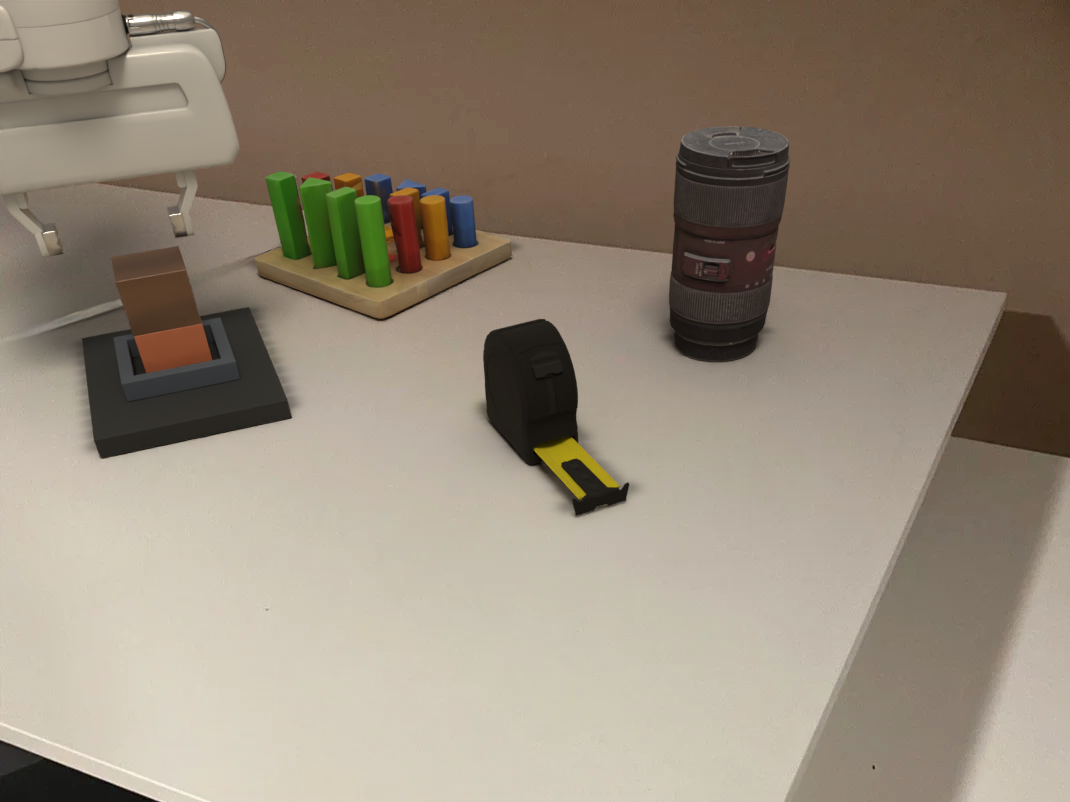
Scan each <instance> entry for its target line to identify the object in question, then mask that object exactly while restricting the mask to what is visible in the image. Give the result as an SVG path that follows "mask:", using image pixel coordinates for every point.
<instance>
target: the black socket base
mask: <svg viewBox="0 0 1070 802" xmlns="http://www.w3.org/2000/svg"><path fill="white" fill-rule="evenodd" d="M200 318H201V322H202V325H203V328H204V332H205V335H206V339H207V342H208V346H209V349H210V353H211V356H212V360H211V361H206V362H201V363H196V364H191V365H186V366H181V367H175V368H170V369H165V370H160V371H155V372H150V373H146V371H145V368H144V365H143V362H142V359H141V356H140V353H139V350H138V347H137V344H136V341H135V338H134V336H133V334H132V331H131V328H129V329H123V330H118V331H112V332H107V333H102V334H97V335H96V334H95V335H92V336H91V335H90V336H86V337H81V346H82V354H83V361H84V362H83V363H84V369H85V371H84V372H85V378H86V379H85V380H86V387H87V395H88V403H89V404H88V405H89V413H90V420H91V421H90V422H91V429H92V436H93V443H94V445H95V447H96V449H97V452H98V455H99V457H100V458H101V459H106V458H110V457H114V456H119V455H123V454H124V455H125V454H128V453H133V452H137V451H142V450H147V449H152V448H156V447H161V446H162V447H163V446H166V445H170V444H176V443H180V442H181V443H182V442H185V441H189V440H190V441H191V440H194V439H199V438H204V437H208V436H213V435H218V434H222V433H226V432H232V431H237V430H241V429H246V428H250V427H255V426H260V425H261V426H262V425H264V424H269V423H274V422H279V421H283V420H289V419H292V413H291V409H290V405H289V400H288V398H287V396H286V393H285V391H284V388H283V386H282V383H281V381H280V378H279V376H278V374H277V371H276V368H275V366H274V364H273V361H272V359H271V357H270V354H269V352H268V349H267V347H266V344H265V342H264V340H263V337H262V335H261V332H260V330H259V327H258V325H257V322H256V320H255V317H254V315H253V313H252V310H251V308H250V306H246V307H241V308H236V309H230V310H226V311H220V312H219V311H218V312H214V313H209V314H203V315H200Z"/></svg>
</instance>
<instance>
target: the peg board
mask: <svg viewBox="0 0 1070 802" xmlns="http://www.w3.org/2000/svg"><path fill="white" fill-rule="evenodd" d="M300 180H301V183H302V184H300V186H299V189H298V185H297V181H296V177H295V174H294V173H290V172H286V171H283V170H282V171H281V170H280V171H277V172H274V173H272V174H269V175H267V176H265V182H266V187H267V191H268V196H269V201H270V204H271V208H272V213H273V216H274V220H275V225H276V229H277V234H278V237H279V242H280V246H279V247H277V248H274V249H272V250H270V251H266V252H265V253H261V254H260V255H257V256H255V258H254V262H255V266H256V270H257V274H258V275H259V276H260V277H262V278H264V279H268V280H271V281H274V282H276V283H279V284H280V285H285V286H287V287H290V288H292V289H296V290H298V291H300V292H304V293H306V294H308V295H312V296H314V297H317V298H320V299H322V300H325V301H328V302H331V303H333V304H336V305H339V306H342V307H345V308H346V309H347V308H348V309H350V310H352V311H355V312H357V313H361V314H363V315H367V316H369V317H372V318H375V319H379V320H380V319H386V318H388V317H391V316H393V315H395V314H397V313H400V312H402V311H403V310H405V309H407V308H409V307H411V306H413V305H416V304H418V303H420V302H422V301H424V300H426V299H428V298H430V297H432V296H433V295H436V294H438V293H440V292H442V291H444V290H446V289H448V288H450V287H453V286H455V285H457V284H459V283H460V282H463V281H464V280H466V279H468V278H471V277H473V276H475V275H477V274H479V273H481V272H483V271H486V270H488V269H489V268H492V267H494V266H496V265H498V264H500V263H503V262H504V261H506V260H509V259H510V258H511V257H512V255H513V254H512V252H513V251H512V240H511V238H507V237H503V236H501V235H496V234H493V233H490V232H487V231H483V230H480V229H476V227H477V226H476V217H475V206H474V198H473V197H472V196H470V195H464V194H462V195H461V194H460V195H456V196H452V197H451V196H450V190H449V189H446V188H443V187H436V188H433V189H431V190H429V191H428V190H427V185H425V184H423V183H420V182H418V181H414V180H410V179H408V178H407V179H404V180H403V181H402V182H401V183H400V184H399V185H398V186H397V187H396V191H393V184H392V183H393V182H392V178H391V176H390V175H387V174H383V173H374V174H372V175H369V176H366V177H364V181H363V178H362V176H361V175H359V174H356V173H353V172H346V173H342V174H340V175H336V176H334V177H333V183H332V181H331V177H330V175H329V174H328V173H324V172H320V171H314V172H310V173H308V174H305V175H302V176H301V177H300ZM363 182H364V183H363ZM333 184H334V188H333ZM364 187H365V193H366V195H365V193H364ZM334 189H335V190H334ZM450 197H451V198H450ZM307 234H308V235H307Z"/></svg>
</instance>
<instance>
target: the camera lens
mask: <svg viewBox="0 0 1070 802" xmlns="http://www.w3.org/2000/svg"><path fill="white" fill-rule="evenodd" d="M789 151H790V141H789V138H787V137H786V136H785V135H784V134H782V133H779V132H777V131H773V130H769V129H765V128H761V127H754V126H738V125H730V126H729V125H727V126H712V127H705V128H699V129H697V130H692V131H689V132H687V133H686V134H684V135H683V136H682V137H681V139H680V146H679V151H678V153H677V154H676V156H675V159H676V162H675V175H674V189H673V191H674V192H673V215H672V216H673V222H674V232H673V243H672V256H671V257H672V258H671V271H670V274H669V275H670V276H669V285H668V286H669V288H668V290H669V291H668V307H669V325H670V327H671V329H672V330H673V343H674V344H673V345H674V347H675V349H676V350H677V351H678V352H679V353H680V354H682V355H683V356H686V357H687V358H691V359H694V360H698V361H703V362H717V363H718V362H719V363H720V362H730V361H734V360H738V359H740V358H744V357H746V356H748V355H750V354H751V353H752V352H753V351H754V350H755V349H756V347H757V345H758V339H759V334H760V333H761V332H762V330H763V329H764V327H765V325H766V319H767V315H768V310H769V307H770V303H771V296H772V288H773V279H774V276H773V275H774V265H775V258H776V250H777V239H778V234H779V226H780V224H781V222H782V217H783V213H784V208H785V203H786V202H785V201H786V195H787V188H788V181H789V171H790V167H791V165H790V162H791V157H790V155H789V153H790V152H789Z"/></svg>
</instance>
